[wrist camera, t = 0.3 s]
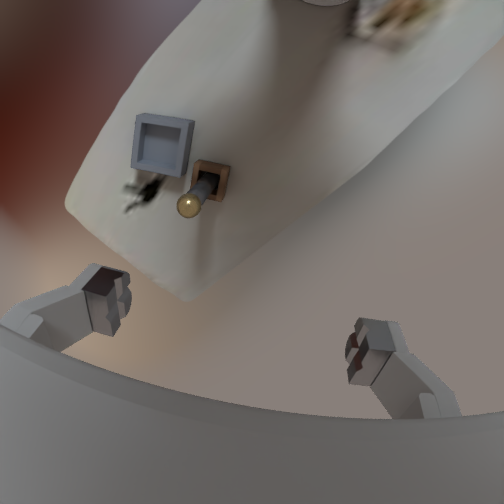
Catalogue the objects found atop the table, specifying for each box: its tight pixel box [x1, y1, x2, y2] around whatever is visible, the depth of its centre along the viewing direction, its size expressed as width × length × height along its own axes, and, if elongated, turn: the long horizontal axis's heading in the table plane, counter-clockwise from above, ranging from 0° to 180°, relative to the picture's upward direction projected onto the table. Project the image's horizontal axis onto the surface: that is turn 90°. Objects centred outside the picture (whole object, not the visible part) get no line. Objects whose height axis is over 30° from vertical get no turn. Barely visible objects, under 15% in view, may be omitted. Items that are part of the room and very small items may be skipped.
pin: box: [177, 172, 220, 218], centre depth 50 cm, size 4×4×16 cm
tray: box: [131, 113, 195, 178], centre depth 53 cm, size 10×10×4 cm
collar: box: [190, 160, 231, 202], centre depth 55 cm, size 6×6×3 cm
